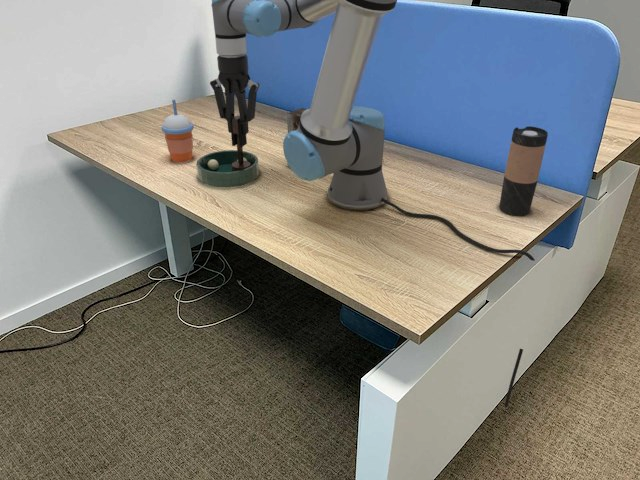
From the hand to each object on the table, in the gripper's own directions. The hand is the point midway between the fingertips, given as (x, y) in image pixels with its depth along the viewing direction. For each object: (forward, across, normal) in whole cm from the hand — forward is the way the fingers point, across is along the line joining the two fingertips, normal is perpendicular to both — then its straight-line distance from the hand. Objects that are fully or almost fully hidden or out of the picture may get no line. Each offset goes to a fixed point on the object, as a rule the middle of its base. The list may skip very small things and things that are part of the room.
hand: (239, 144), depth 142 cm
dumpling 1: (+9, +9, 0) cm, 12 cm away
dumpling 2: (+9, +2, -4) cm, 10 cm away
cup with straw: (+9, +22, -5) cm, 25 cm away
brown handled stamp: (+8, 0, 0) cm, 8 cm away
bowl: (+9, +3, +2) cm, 10 cm away
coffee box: (+9, -15, -11) cm, 21 cm away
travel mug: (+9, -73, -3) cm, 74 cm away
